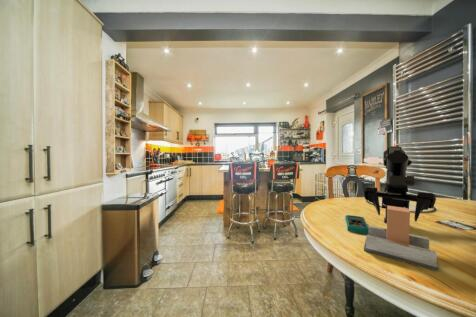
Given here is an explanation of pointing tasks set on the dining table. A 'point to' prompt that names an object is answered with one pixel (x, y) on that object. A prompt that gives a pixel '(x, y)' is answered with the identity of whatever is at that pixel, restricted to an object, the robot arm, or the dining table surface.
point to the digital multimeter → (356, 224)
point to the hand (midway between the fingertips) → (396, 217)
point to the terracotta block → (398, 224)
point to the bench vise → (401, 248)
